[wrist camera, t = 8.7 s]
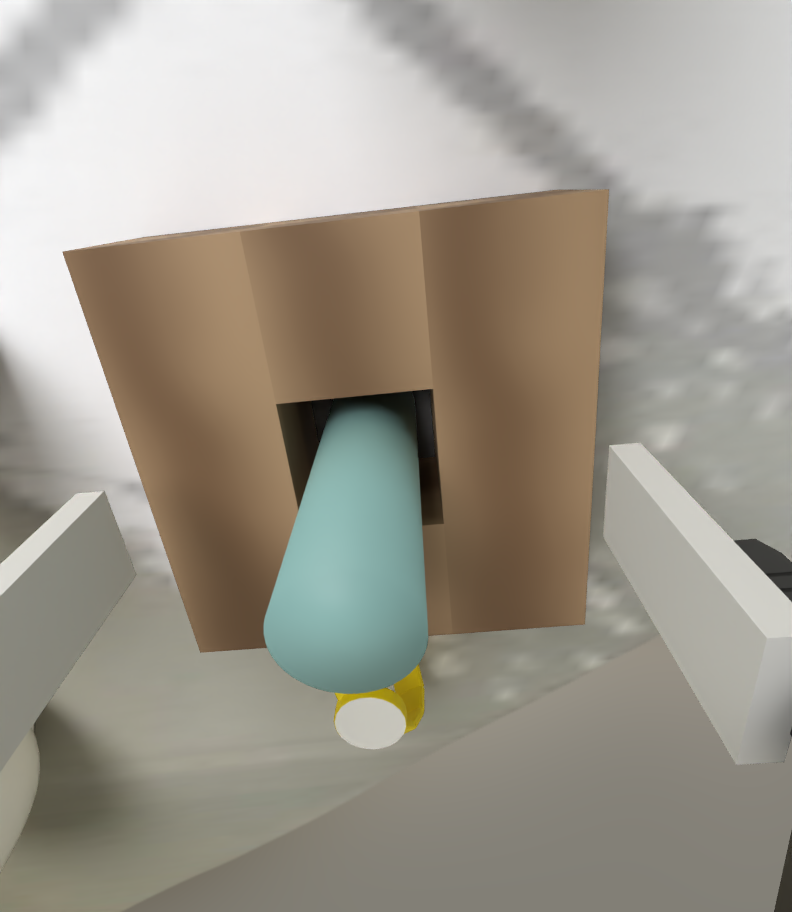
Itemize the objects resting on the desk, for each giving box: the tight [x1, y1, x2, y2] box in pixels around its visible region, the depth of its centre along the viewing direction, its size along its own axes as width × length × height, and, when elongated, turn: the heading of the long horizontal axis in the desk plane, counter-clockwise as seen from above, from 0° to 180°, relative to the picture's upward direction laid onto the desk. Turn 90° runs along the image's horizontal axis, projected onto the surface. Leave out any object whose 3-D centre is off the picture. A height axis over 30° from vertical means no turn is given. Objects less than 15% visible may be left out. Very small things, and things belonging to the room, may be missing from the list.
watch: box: [334, 664, 424, 749], centre depth 24 cm, size 6×3×6 cm, turn 33°
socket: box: [63, 189, 609, 653], centre depth 19 cm, size 14×14×5 cm
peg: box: [263, 391, 428, 694], centre depth 16 cm, size 3×3×12 cm
